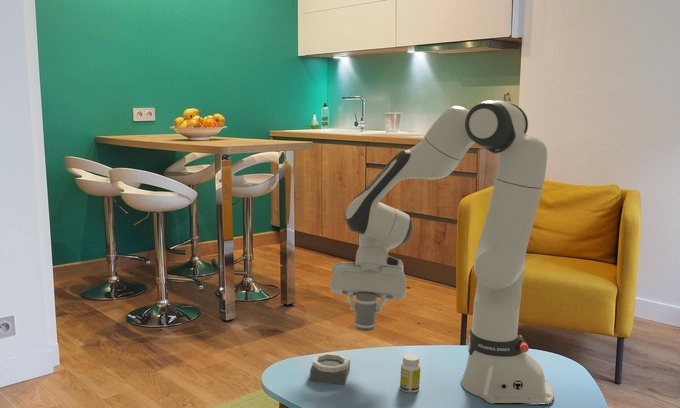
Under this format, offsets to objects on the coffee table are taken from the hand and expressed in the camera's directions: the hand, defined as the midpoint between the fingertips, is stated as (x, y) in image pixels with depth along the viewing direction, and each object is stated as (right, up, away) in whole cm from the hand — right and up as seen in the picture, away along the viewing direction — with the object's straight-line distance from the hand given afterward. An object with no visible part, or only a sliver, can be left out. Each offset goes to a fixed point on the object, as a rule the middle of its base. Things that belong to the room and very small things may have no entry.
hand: (365, 310), depth 164 cm
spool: (0, -5, +2) cm, 5 cm away
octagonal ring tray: (-9, -17, -2) cm, 19 cm away
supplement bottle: (+11, -19, -7) cm, 22 cm away
